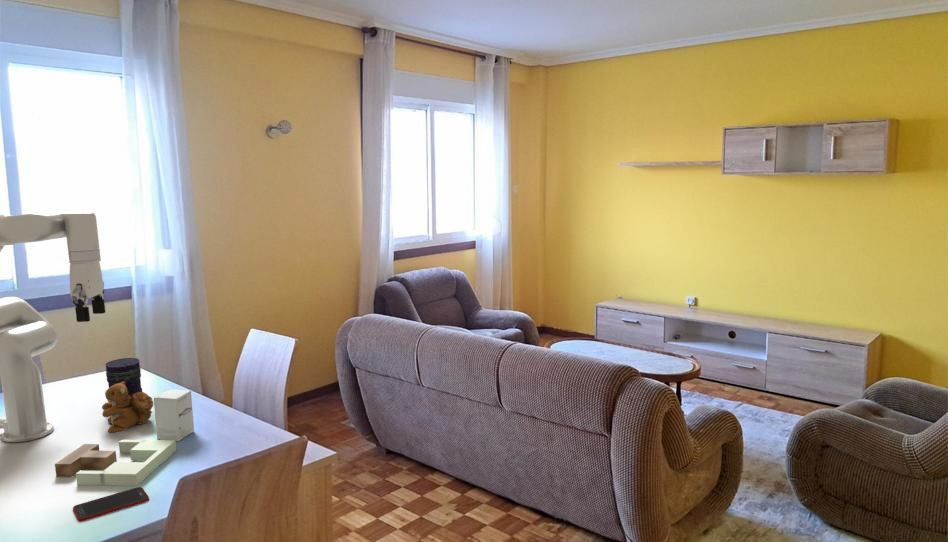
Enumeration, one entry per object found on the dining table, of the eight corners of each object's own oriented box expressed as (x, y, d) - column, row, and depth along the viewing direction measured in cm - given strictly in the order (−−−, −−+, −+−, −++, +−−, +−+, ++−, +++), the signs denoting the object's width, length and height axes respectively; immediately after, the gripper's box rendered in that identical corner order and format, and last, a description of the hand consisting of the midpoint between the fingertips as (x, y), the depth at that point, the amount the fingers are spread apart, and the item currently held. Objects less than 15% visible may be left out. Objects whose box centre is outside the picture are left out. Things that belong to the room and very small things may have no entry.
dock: (77, 484, 165) (75, 473, 165) (122, 450, 185) (121, 439, 185) (136, 485, 165) (135, 474, 164) (176, 450, 184) (175, 440, 184)
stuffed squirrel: (106, 422, 205) (101, 380, 203) (157, 415, 210) (153, 374, 208) (101, 434, 196) (96, 391, 194) (154, 426, 201) (151, 384, 199)
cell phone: (72, 510, 154) (71, 506, 154) (141, 489, 163) (141, 485, 163) (78, 524, 148) (78, 519, 148) (150, 501, 158) (150, 497, 157)
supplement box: (179, 441, 190) (175, 399, 188) (156, 439, 192) (152, 397, 190) (195, 431, 197) (191, 390, 195) (172, 429, 199) (169, 388, 197)
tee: (56, 477, 170) (54, 464, 169) (85, 456, 182) (84, 444, 181) (98, 477, 169) (97, 464, 169) (125, 456, 181) (124, 444, 180)
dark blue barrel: (106, 406, 218) (101, 362, 215) (138, 399, 224) (134, 356, 222) (114, 415, 211) (109, 369, 208) (148, 407, 217) (143, 362, 215)
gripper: (84, 252, 193) (91, 311, 196) (54, 261, 176) (62, 325, 179) (112, 251, 194) (118, 310, 197) (84, 260, 177) (91, 324, 180)
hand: (91, 317), depth 188 cm, fingers open, 9 cm apart
